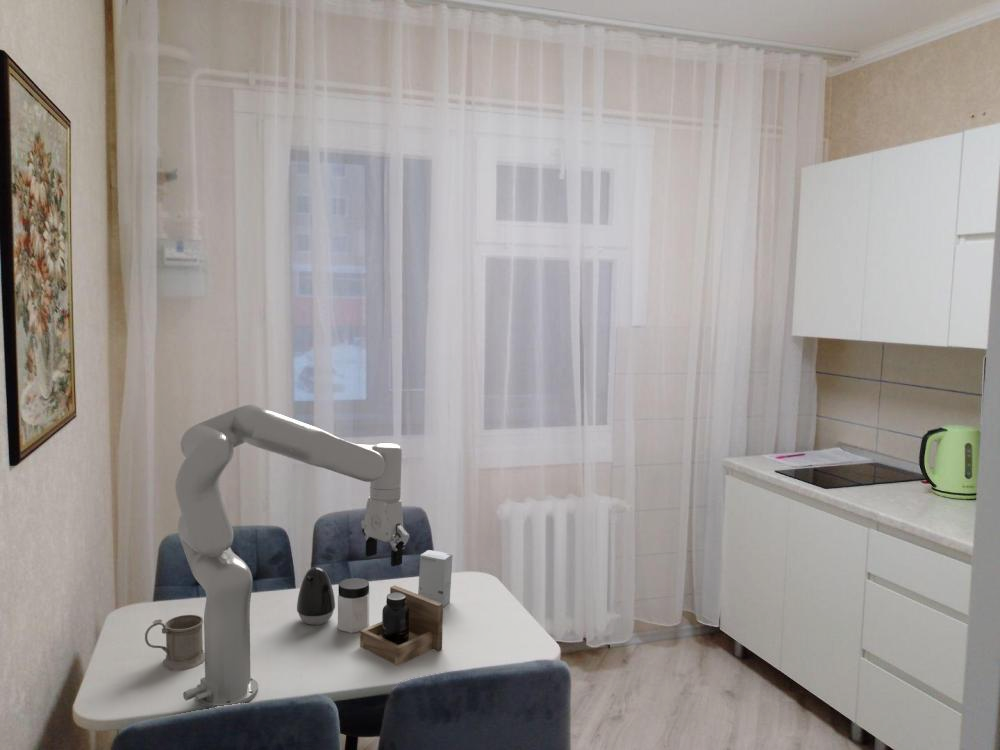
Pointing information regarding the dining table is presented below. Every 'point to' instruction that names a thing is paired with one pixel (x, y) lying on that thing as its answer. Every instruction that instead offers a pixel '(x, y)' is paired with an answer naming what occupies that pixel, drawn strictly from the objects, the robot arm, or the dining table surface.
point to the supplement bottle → (395, 619)
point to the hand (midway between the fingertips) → (383, 560)
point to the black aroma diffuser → (315, 597)
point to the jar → (353, 605)
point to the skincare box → (435, 576)
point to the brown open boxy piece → (421, 631)
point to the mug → (181, 642)
